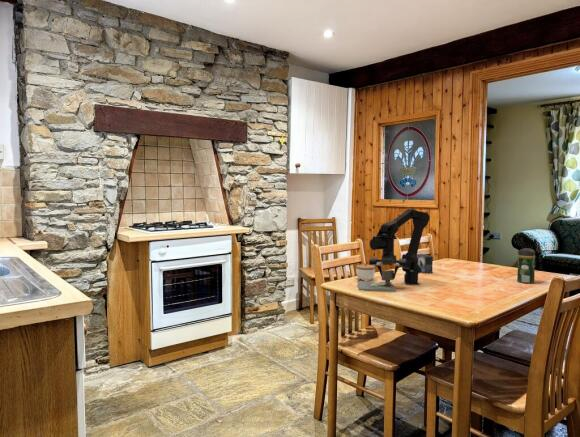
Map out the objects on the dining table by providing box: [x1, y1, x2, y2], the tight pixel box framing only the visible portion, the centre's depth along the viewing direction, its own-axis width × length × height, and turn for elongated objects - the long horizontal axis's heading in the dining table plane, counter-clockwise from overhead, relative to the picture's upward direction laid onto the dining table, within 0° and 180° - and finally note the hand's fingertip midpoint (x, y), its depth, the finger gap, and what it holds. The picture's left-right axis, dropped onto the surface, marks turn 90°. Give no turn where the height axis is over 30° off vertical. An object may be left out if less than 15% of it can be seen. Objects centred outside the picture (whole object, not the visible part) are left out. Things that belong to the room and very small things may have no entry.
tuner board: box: [356, 280, 397, 293], centre depth 215 cm, size 18×18×1 cm
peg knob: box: [370, 269, 395, 286], centre depth 213 cm, size 13×4×7 cm, turn 110°
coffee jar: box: [516, 247, 536, 284], centre depth 227 cm, size 10×8×19 cm
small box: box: [417, 253, 434, 275], centre depth 257 cm, size 11×6×10 cm, turn 25°
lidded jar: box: [355, 262, 376, 281], centre depth 233 cm, size 11×11×9 cm
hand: (388, 278), depth 214 cm, fingers closed on peg knob, 6 cm apart
